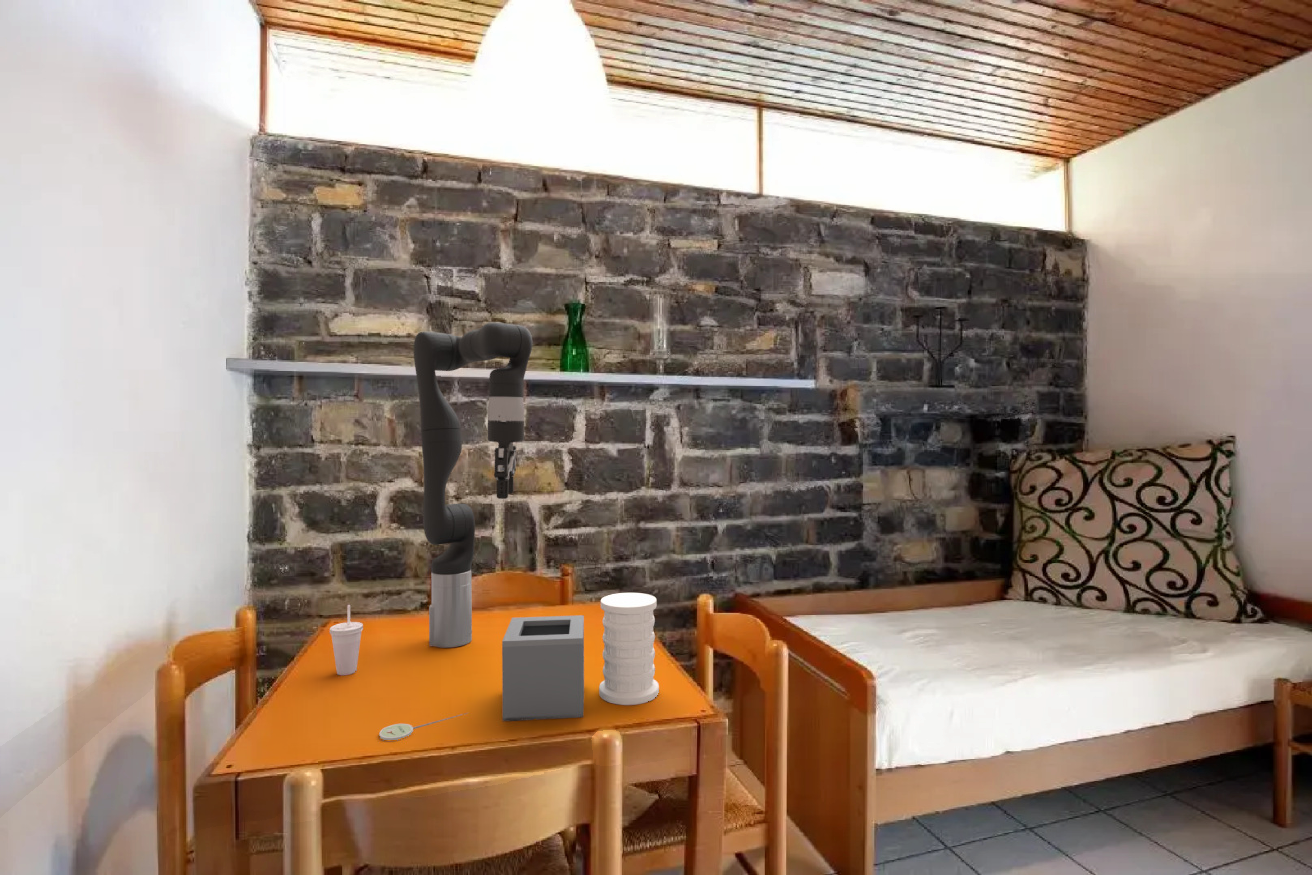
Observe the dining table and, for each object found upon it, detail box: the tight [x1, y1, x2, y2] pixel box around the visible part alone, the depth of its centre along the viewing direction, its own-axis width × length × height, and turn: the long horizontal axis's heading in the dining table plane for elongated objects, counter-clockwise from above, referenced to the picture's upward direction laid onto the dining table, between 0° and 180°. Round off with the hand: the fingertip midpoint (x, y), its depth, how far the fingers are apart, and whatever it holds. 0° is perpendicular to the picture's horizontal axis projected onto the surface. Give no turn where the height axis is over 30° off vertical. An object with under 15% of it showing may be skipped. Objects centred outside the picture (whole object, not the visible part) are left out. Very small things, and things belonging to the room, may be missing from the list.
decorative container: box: [598, 592, 660, 706], centre depth 121 cm, size 12×12×18 cm
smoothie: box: [329, 604, 364, 676], centre depth 131 cm, size 6×6×14 cm
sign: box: [378, 712, 468, 741], centre depth 107 cm, size 5×1×15 cm
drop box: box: [501, 614, 585, 722], centre depth 116 cm, size 14×14×14 cm
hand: (505, 496), depth 131 cm, fingers open, 8 cm apart
